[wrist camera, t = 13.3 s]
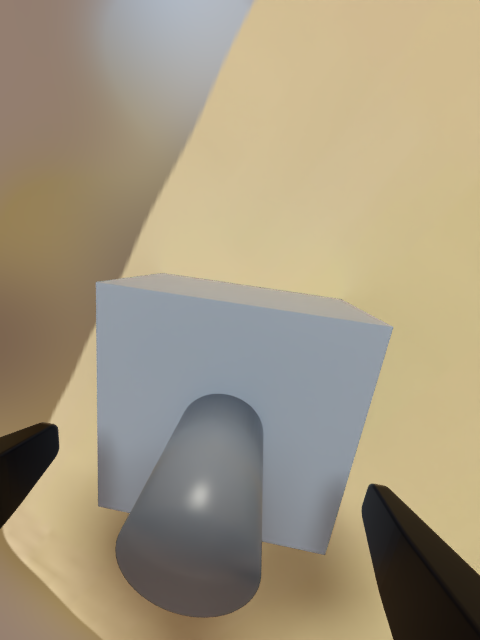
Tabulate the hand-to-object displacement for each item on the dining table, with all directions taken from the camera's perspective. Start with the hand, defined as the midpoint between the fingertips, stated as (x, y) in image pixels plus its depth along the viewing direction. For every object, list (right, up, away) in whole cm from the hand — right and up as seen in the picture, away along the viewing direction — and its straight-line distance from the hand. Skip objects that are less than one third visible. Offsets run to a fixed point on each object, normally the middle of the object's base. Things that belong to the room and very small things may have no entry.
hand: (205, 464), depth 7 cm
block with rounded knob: (+1, +1, +8) cm, 8 cm away
